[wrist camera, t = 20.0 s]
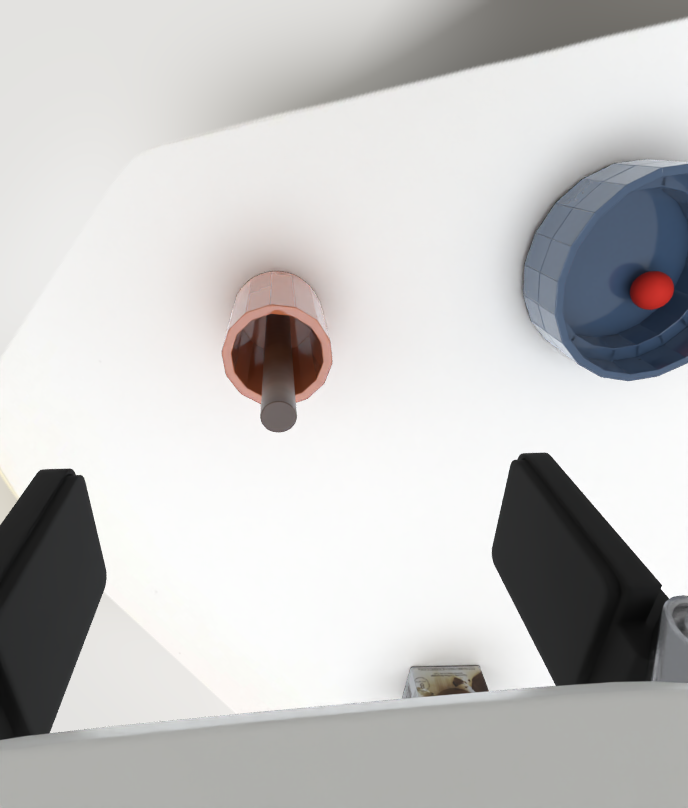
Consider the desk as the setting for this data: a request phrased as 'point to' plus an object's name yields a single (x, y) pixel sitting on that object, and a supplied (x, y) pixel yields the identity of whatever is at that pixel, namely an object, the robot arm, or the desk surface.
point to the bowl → (614, 270)
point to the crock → (248, 334)
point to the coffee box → (444, 681)
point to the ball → (651, 290)
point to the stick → (278, 376)
